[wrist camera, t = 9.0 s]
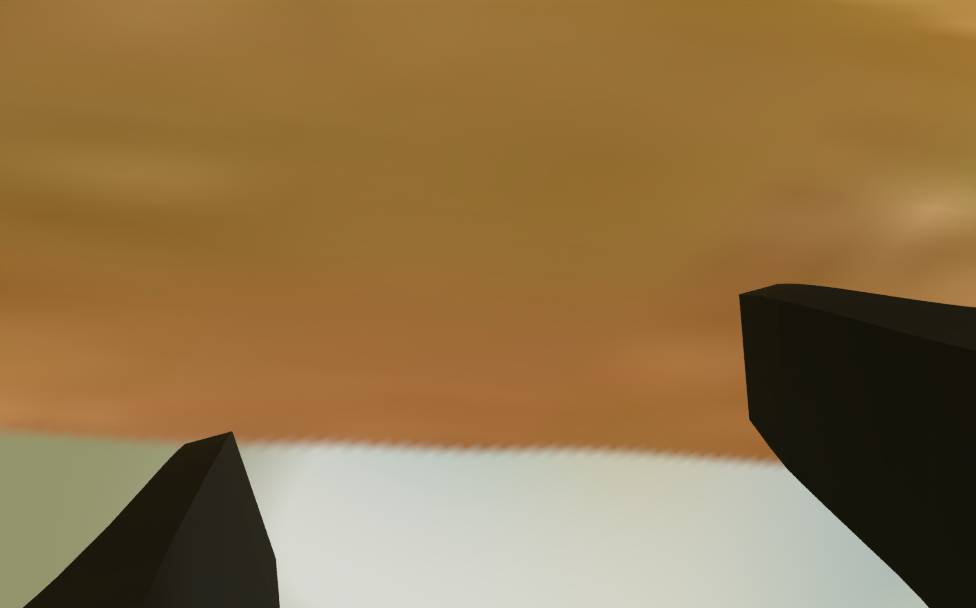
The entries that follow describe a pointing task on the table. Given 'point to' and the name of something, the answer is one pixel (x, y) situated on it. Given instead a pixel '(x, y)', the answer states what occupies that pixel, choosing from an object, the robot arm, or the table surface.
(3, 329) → the table surface
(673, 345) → the table surface
